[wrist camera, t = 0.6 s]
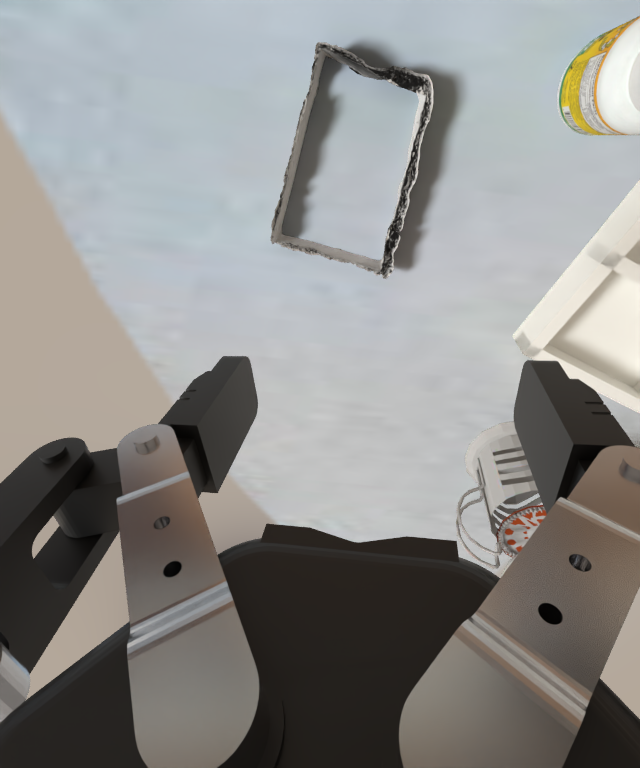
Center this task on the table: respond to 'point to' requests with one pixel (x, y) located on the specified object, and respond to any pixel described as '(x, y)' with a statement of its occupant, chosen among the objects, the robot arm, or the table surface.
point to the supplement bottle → (604, 84)
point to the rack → (596, 311)
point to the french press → (502, 490)
